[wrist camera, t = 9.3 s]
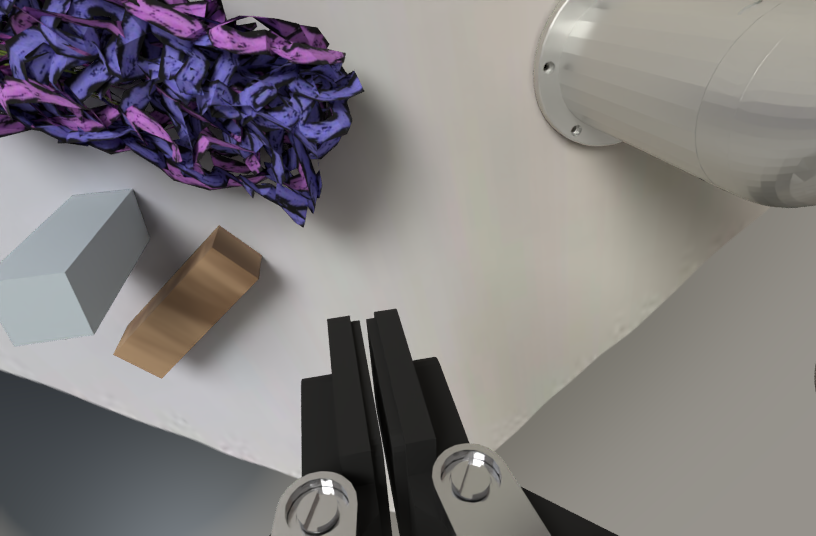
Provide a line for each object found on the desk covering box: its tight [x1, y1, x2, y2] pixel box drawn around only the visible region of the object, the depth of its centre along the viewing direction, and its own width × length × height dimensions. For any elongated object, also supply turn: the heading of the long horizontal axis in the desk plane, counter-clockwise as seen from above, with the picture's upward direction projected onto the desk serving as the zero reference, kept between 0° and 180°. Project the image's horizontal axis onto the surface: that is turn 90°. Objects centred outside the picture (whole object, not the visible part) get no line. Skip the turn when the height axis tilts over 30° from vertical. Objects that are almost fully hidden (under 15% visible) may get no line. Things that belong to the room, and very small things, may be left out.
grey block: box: [0, 189, 150, 347], centre depth 31 cm, size 4×4×12 cm
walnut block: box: [113, 226, 262, 379], centre depth 38 cm, size 4×4×12 cm
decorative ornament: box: [0, 0, 364, 228], centre depth 27 cm, size 13×11×30 cm
